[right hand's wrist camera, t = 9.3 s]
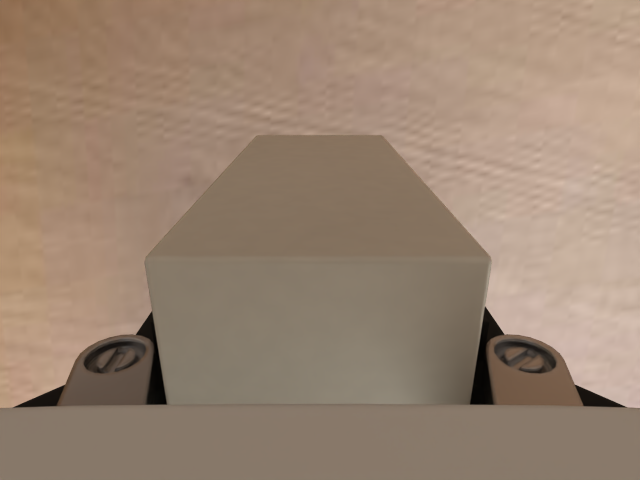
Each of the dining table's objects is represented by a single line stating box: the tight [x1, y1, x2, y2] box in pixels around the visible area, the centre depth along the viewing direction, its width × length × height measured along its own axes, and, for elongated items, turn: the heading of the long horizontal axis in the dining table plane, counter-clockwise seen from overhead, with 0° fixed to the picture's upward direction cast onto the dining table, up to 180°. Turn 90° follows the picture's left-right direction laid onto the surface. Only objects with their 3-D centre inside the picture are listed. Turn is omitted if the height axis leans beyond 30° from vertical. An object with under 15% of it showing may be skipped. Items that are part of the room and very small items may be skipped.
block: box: [144, 135, 492, 405], centre depth 12 cm, size 5×7×11 cm
